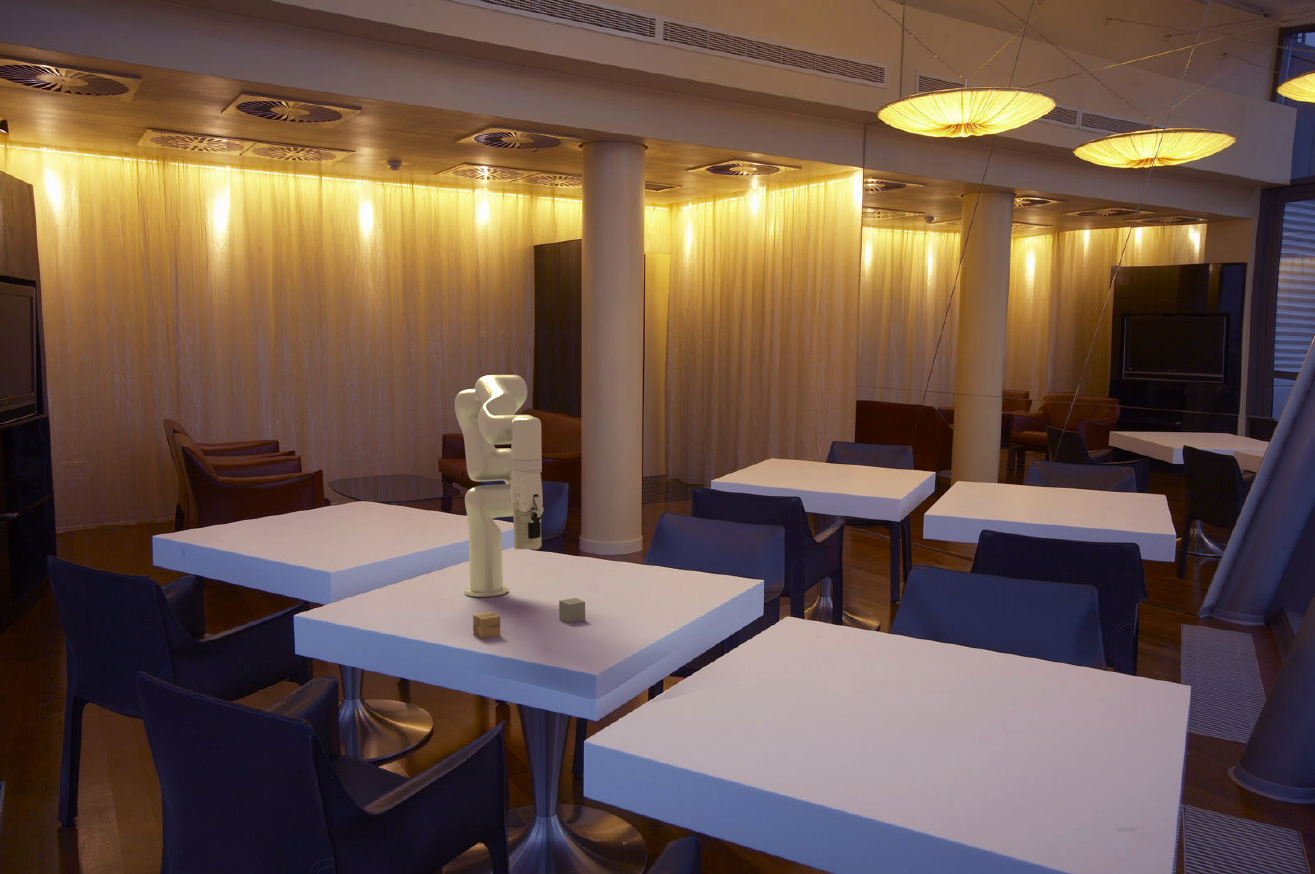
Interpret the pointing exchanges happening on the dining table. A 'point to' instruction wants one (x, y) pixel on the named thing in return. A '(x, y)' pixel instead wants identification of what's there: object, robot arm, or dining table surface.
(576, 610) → the grayish brown block
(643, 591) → the dining table surface
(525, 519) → the skincare box
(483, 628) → the walnut block
